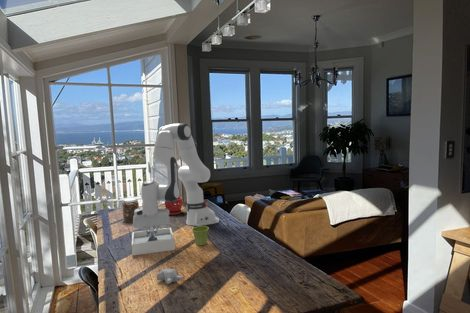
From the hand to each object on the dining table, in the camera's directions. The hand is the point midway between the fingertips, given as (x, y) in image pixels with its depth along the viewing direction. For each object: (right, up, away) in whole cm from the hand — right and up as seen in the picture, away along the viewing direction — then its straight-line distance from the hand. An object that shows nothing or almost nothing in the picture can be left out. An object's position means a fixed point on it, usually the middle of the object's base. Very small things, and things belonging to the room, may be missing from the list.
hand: (152, 233), depth 200 cm
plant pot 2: (+28, -5, -2) cm, 29 cm away
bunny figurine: (+19, -10, -48) cm, 53 cm away
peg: (0, -4, 0) cm, 4 cm away
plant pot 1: (+1, 0, +68) cm, 68 cm away
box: (+1, -6, -2) cm, 7 cm away
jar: (-28, -2, +55) cm, 62 cm away
